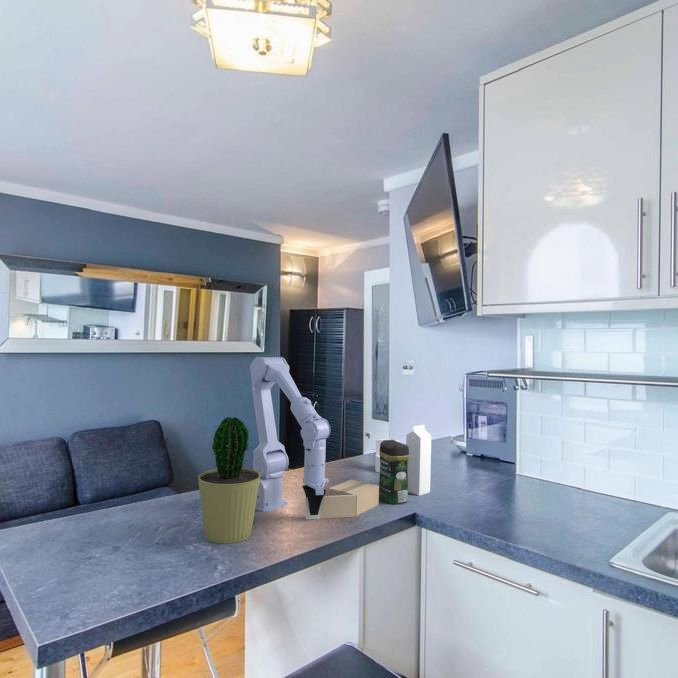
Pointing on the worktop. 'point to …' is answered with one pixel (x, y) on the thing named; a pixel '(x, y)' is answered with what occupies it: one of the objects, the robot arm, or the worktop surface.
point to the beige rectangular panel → (334, 507)
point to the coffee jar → (393, 472)
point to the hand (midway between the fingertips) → (313, 513)
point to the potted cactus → (229, 486)
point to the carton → (358, 494)
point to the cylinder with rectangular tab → (377, 462)
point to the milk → (419, 460)
